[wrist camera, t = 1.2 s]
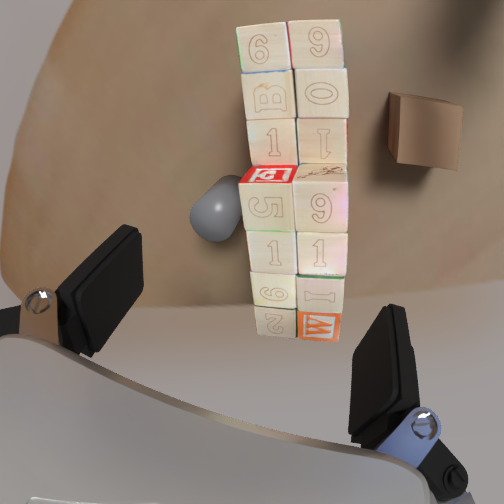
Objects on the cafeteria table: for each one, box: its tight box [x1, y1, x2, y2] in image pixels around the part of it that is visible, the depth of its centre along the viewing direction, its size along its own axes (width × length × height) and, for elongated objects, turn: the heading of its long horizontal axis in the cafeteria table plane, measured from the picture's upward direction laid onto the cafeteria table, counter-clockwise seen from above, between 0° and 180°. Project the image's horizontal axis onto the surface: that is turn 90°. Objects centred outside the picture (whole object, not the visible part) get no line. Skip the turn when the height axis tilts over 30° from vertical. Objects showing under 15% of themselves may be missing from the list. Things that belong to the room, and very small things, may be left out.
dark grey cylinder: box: [190, 175, 243, 242], centre depth 29 cm, size 4×4×6 cm
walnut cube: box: [388, 92, 463, 171], centre depth 21 cm, size 5×5×5 cm
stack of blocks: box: [236, 20, 349, 342], centre depth 22 cm, size 21×6×12 cm, turn 6°
